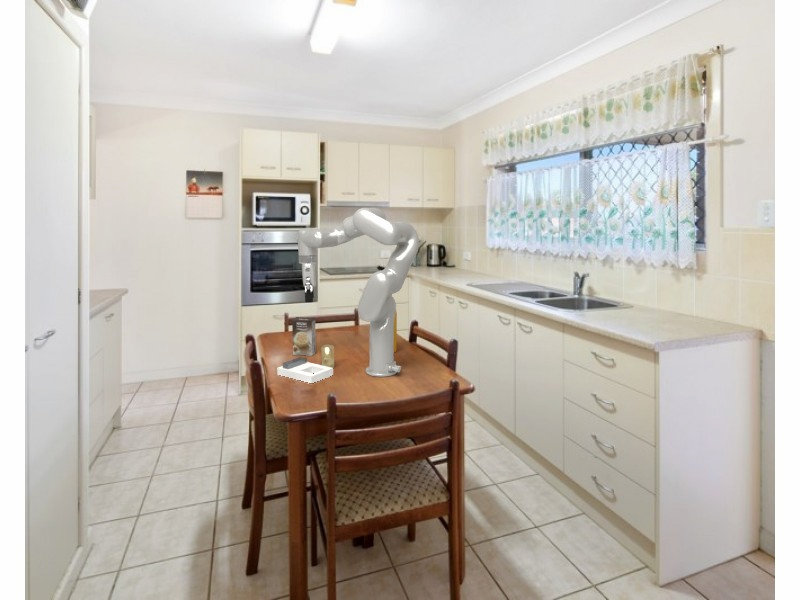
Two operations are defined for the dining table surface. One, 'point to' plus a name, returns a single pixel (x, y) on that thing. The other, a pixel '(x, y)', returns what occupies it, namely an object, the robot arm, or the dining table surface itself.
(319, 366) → the jig
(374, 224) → the robot arm
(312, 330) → the coffee box
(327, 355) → the bushing
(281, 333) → the dining table surface
